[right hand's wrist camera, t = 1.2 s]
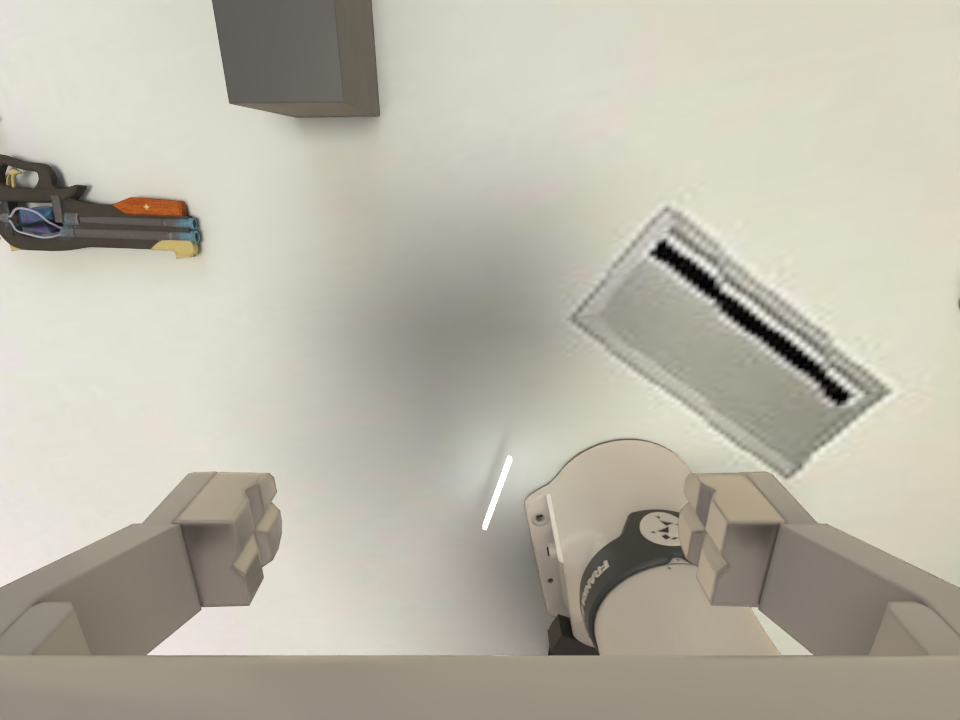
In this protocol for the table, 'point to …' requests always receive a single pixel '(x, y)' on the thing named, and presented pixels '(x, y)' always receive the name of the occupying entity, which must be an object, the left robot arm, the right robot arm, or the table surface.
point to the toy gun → (88, 217)
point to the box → (299, 56)
